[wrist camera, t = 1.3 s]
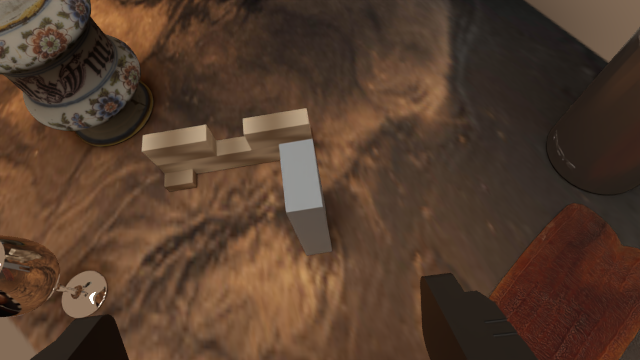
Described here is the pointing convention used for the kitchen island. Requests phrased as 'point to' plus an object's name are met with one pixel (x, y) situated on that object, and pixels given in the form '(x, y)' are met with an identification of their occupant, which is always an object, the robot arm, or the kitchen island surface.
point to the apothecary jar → (72, 70)
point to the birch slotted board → (222, 147)
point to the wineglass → (43, 281)
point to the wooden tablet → (574, 290)
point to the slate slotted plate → (304, 196)
